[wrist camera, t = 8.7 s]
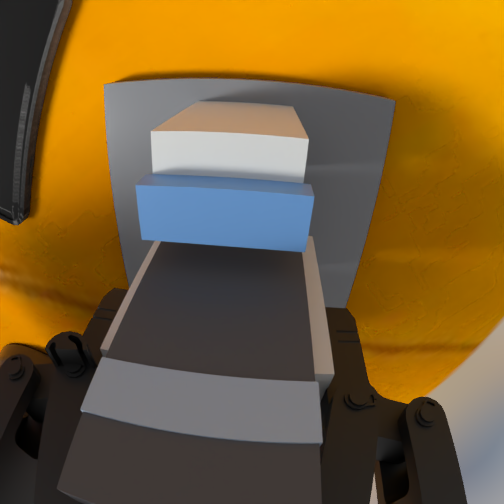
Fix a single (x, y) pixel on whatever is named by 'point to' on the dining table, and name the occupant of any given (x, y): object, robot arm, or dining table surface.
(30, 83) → the phone
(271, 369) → the plug
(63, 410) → the robot arm
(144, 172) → the grey plate with blocks
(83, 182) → the dining table surface
